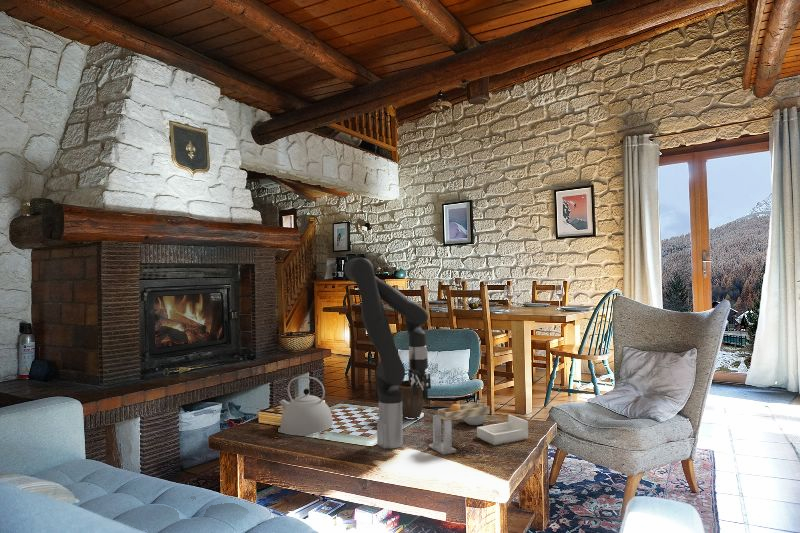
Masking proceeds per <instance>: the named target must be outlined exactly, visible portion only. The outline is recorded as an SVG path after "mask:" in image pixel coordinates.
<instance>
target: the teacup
mask: <svg viewBox="0 0 800 533" xmlns="http://www.w3.org/2000/svg"><path fill="white" fill-rule="evenodd" d="M478 403H479V402H470V401H469V402H466V404H469V405H471V404H478ZM486 406H487V405H486V404H484V403H481V407H486ZM486 419H487V415H480V416H474V417H468V418H462V421H464V422H465V423H466V424H467V425H470V426H479V425H480V426H481V425H482V424H483V423H484V422H485V420H486Z"/></svg>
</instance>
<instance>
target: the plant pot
mask: <svg viewBox="0 0 800 533" xmlns="http://www.w3.org/2000/svg"><path fill="white" fill-rule="evenodd" d="M423 386H424V385H423ZM398 388H399V390H400V392H401V393H402V418H403V417H408V418H417V417H419V418H421V414H422V411H423V408H424V404H425V400H423V399H422V388H421V386H420V385H419V383H417V392H418V394H417V395H412V386H411V383H409V379H406V380H403V381H402V382H401V383H400V384H399V385H398Z"/></svg>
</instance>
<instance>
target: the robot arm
mask: <svg viewBox="0 0 800 533" xmlns="http://www.w3.org/2000/svg"><path fill="white" fill-rule="evenodd" d="M343 270H344V271H343V272H344V275H345V276H346V278H347V279H348V280H349V281H352V282H353V283H355V285H356V286H357V289H358V292H359V294H360V295H359V296H360V299H361V318H362V321H363V326H364V328H365V332H366V333H367V336H368V338H369V340H370V341H371V343H372V344H373V346H374V348H375V349H376V351H377V354H378V356H379V358H380V361H379V362H378V364H377V366H376V372H375V379H376V382H375V383H376V393H377V394H376V395H377V396H378V419H377V420H376V440H377V441H376V444H377V445H378V446H379V447H380V448H382V449H398V448H400V447H402V446H403V444H404V443H403V439H404V438H403V436H404V435H403V433H404V432H403V430H404V429H403V427H404V426H403V415H402V393H401V392H400V390H399V388H398V385H399V384H400V383H401V382H402V381H405V376H406V371H405V370H406V369H405V367H404V363H403V361H402V360H401V357H400V354H399V352H398V350H397V347H396V344H395V340H394V337H393V334H392V331H391V328H390V326H391V325H390V323H389V320H388V316H387V313H386V311H385V307H384V304H383V302H384V303H385V304H386V305H387V306H388V307H390V308H391V309H392V310H394V311H395V312H396V313H399V314H401V315H403V316H404V322H405V326H406V331H407V334H408V363H409V364H408V365H409V366H408V367H409V369H408V375H407V376H408V380H409V383H411V386H412V395H417V394H418V392H417V383H419V385H420V386H421V388H422V399H423V400H424V401H425V400H428V398H429V390H430V389H431V388H432V384H431V374H430V373H427V372H426V370H427V369H428V368H429V363H428V362H429V361H428V359H429V358H428V348H427V334H426V332H425V331H424V330H423V329H422V326H424V325H426V324H427V322H428V321H429V314H428V312H427V310H426V309H425V308H424V307H422V306H421V305H419V304H418V303H416V302H415V301H413V300H411V299H409V298H408V297H407V296H406V295H405V294H404V293H402V292H401V291H400V290H399V289H397V288H395V287H394V286H392V285H390V284H389V283H387V282H386V281H384V280H382V279H380V278H379V277H377V276H376V272H375V268H374V265H373V264H372V262H371V261H370V260H369V259H367V258H365V257H354V258H350V259H348V261H347V262H345V265H344V269H343ZM423 385H424V386H423Z"/></svg>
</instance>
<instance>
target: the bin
mask: <svg viewBox="0 0 800 533" xmlns="http://www.w3.org/2000/svg"><path fill="white" fill-rule="evenodd" d="M476 438H478V439H480V440H483V441H484V442H486V443H489V444H490V445H493V446H497V445H503V443H504V444H509V443H513V442H519V441H523V440H524V439H525V440H528V439H529V421H528V420H525V419H523V418H520V417H517V416H514V415H512V414H508V415H507V421H506V422H499V423H495V424H488V425H482V426H477V427H476Z"/></svg>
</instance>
